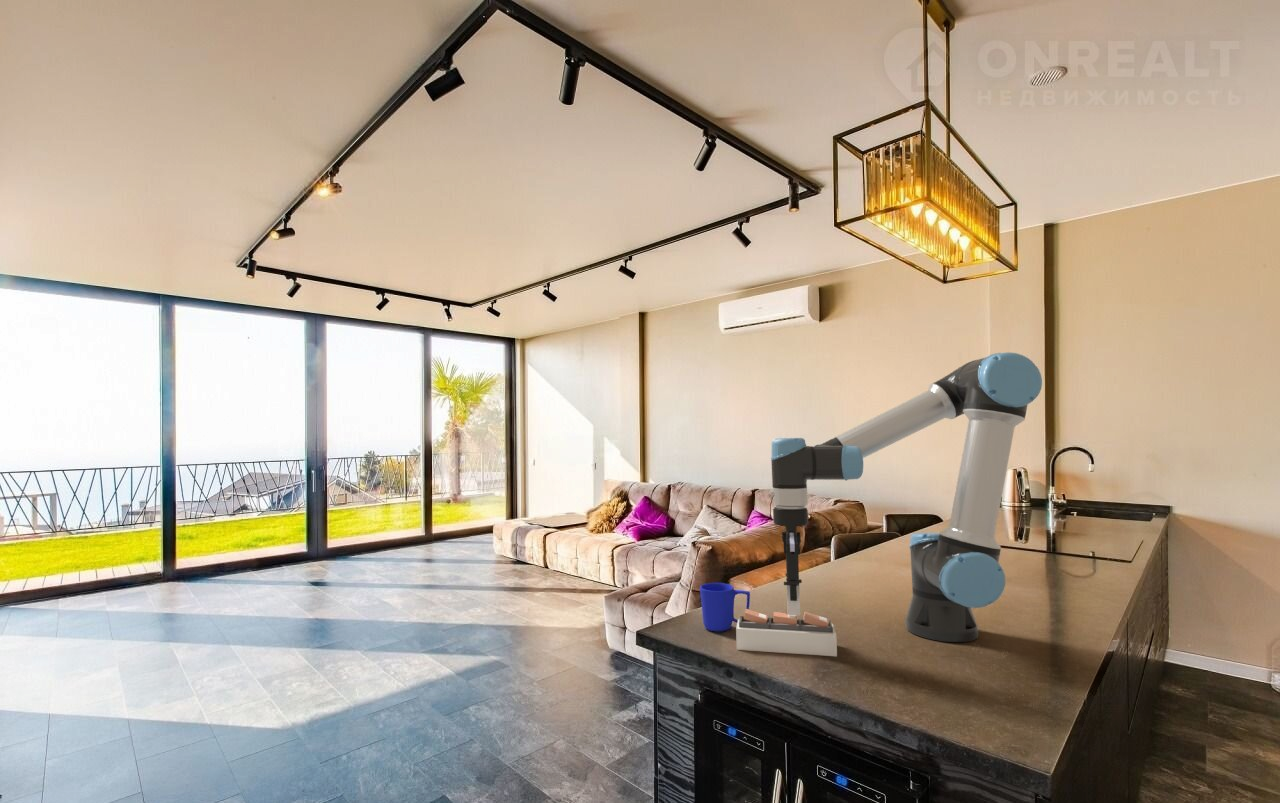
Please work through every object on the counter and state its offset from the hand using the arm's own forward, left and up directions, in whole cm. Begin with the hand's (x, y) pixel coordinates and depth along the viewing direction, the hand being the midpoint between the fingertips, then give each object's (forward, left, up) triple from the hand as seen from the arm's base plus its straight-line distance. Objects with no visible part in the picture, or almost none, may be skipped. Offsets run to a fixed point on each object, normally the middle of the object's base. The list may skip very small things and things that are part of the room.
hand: (793, 614), depth 127 cm
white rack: (+2, 0, -7) cm, 8 cm away
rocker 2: (+2, 0, -2) cm, 3 cm away
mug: (+16, -10, -8) cm, 20 cm away
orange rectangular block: (-4, 0, -2) cm, 5 cm away
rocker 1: (+9, 0, -2) cm, 9 cm away
